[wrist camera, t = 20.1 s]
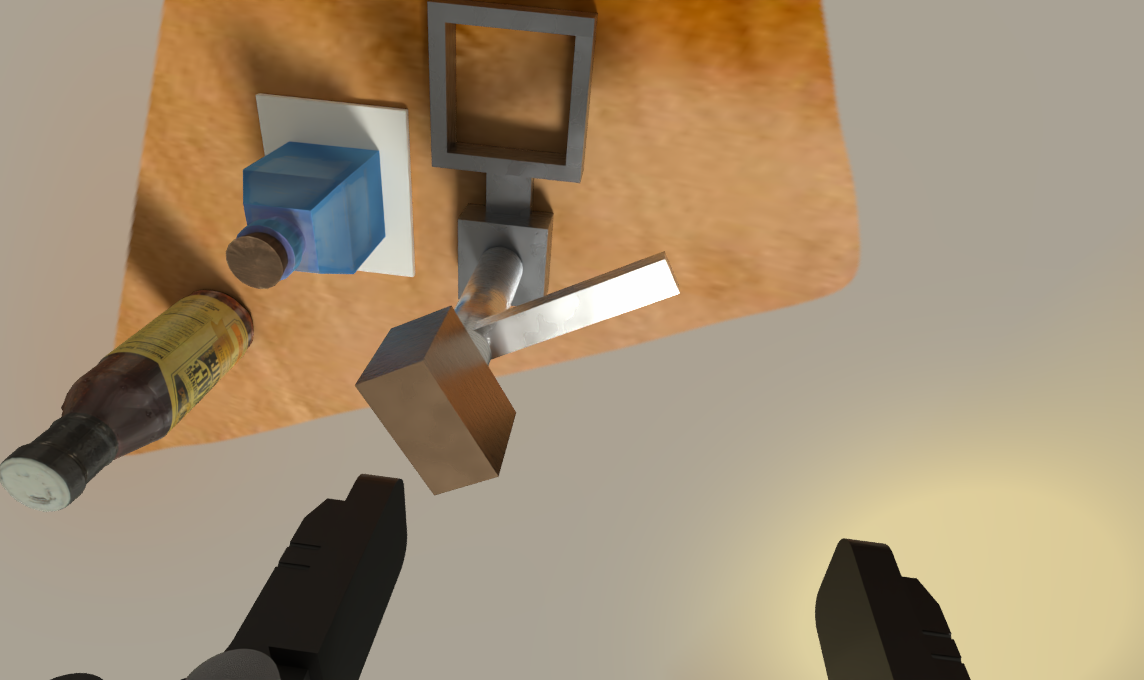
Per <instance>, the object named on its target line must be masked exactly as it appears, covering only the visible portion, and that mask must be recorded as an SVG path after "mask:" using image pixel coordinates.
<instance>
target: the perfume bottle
mask: <svg viewBox="0 0 1144 680" xmlns="http://www.w3.org/2000/svg"><path fill="white" fill-rule="evenodd" d="M243 205H244V210H245V216H246V221H247V226H246V227H245V228H244V229H243V230H242V231H241V232H240V233H239V234H238V235H237V238H236V239H234V240H233V241H232V242H231V243H230V244H229V245H228V248H227V251H226V260H227V263H228V266H229V268H230V270H231V271H232V273H233V274H234V275H235V276H236V277H237V278H238V279H239V280H240V281H241V282H243V283H245V284H246V285H248V286H250V287H254V288H258V289H268V288H270V287H273V286H275V285H276V284H277V283H278V282H279V281H280V280H283V279H285V278H287V277H288V276H289V275H290V274H291V273H292V272H293V271H301V272H310V273H319V274H354V273H355V272H356V271H357V270H358V269H359V267H360V266H361V265H362V264H363V263H364V261H365V260H366V259H367V258H368V257H369V256H370V254H371V253H372V252H373V251H374V250H375V248H376V247H377V246H378V245H379V244H380V243H381V241H382V240H383V239H384V238H385V237H386V234H385V221H384V207H383V194H382V180H381V167H380V153H379V151H378V150H368V149H358V148H349V147H339V146H329V145H320V144H310V143H300V142H291V141H289V142H287V143H286V144H284V145H283V146H281V147H279V148H278V149H276V150H274V151H273V152H271V153H269V154H268V155H266V156H264V157H263V158H261V159H260V160H258V161H256V162H255V163H253V164H251V165H250V166H248V167H246V168H245V169H243Z"/></svg>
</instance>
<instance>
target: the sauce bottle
mask: <svg viewBox="0 0 1144 680" xmlns="http://www.w3.org/2000/svg"><path fill="white" fill-rule="evenodd" d="M253 333H254V330H253V325H252V319H251V316H250V315H249V313H248V312H247V310H246V309H245V308H243V307H242V306H241V305H240V304H239V303H238V302H237V301H236V300H235V299H234V298H232V297H230V296H228V295H226V294H224V293H221V292H216V291H212V290H209V291H208V290H199V291H195V292H193V293H192V294H191V295H189V296H187V297H185V298H183V299H181V300H179V301H178V302H177V303H175V304H174V305H173V306H171V307H170V308H169V309H167V310H166V311H165V312H163V313H162V314H161V315H159V316H158V317H157V318H155V319H154V320H153V321H151V322H150V323H149V324H147V325H146V326H145V327H143V328H142V329H141V330H139V331H138V332H137V333H136V334H134V335H133V336H132V337H130V338H129V339H128V340H126V341H125V342H124V343H122V344H121V345H120V346H118V347H117V348H116V349H114V350H113V351H112V352H110V353H109V354H108V355H106V356H105V357H104V358H103V359H102V360H101V361H100V362H99V364H98V365H97V366H95V367H94V368H92V369H91V370H90V371H89V372H87V373H86V374H85V375H83V376H82V377H80V378H79V379H78V380H77V381H76V382H75V383H74V384H73V385H72V387H71V389H70V390H69V392H68V393H67V396H66V398H65V401H64V403H63V405H62V407H61V408H62V410H63V413H62V417H61V418H59V419H58V420H56V421H54V422H53V423H52V425H51V426H50V428H49V429H48V430H46V431H45V432H44V433H42V434H41V435H40V436H39V437H37V438H36V439H35V440H34V441H32V442H31V443H30V444H26V445H23V446H21V447H19V448H18V449H16V451H14V452H13V453H12V454H11V455H9V456H8V457H7V458H6V459H5V460H4V461H3V462H2V463H1V465H0V482H1V484H2V486H3V487H4V489H5V490H7V491H8V493H9V494H10V495H11V496H12V497H13V498H14V499H15V500H17V501H18V502H20V503H22V504H23V505H26V506H27V507H30V508H33V509H36V510H40V511H56V510H61V509H63V508H65V507H67V506H68V505H69V504H71V503H72V502H73V501H74V500H75V499H76V498H78V496H80V495H81V493H83V491H84V489H85V486H86V484H87V483H88V482H89V481H90V480H91V479H92V478H93V477H95V476H96V474H97V473H99V471H100V470H102V469H103V468H104V467H105V466H107V465H109V464H110V463H111V462H112V461H113V460H115V459H117V458H119V457H121V456H124V455H126V454H128V453H130V452H132V451H135V450H137V449H139V448H141V447H143V446H145V445H148V444H150V443H152V442H154V441H157V440H159V439H161V438H163V437H164V436H165V435H167V434H168V433H169V432H170V431H171V429H172V428H173V427H174V426H175V425H176V424H177V423H178V422H179V421H180V420H181V419H182V418H183V417H184V416H185V415H186V414H187V413H188V412H190V410H191V409H192V408H193V407H194V406H195V405H196V404H197V403H199V401H200V400H201V399H202V398H203V397H204V396H205V395H206V394H207V393H208V392H209V391H210V390H211V389H212V388H213V387H214V386H215V384H216V383H217V382H218V381H219V380H220V379H221V378H222V377H223V376H224V375H225V374H226V373H227V372H228V371H229V370H230V369H231V368H232V367H233V366H234V365H235V364H236V363H237V362H238V361H239V360H240V359H241V358H242V356H243V355H244V354H245V352H246V350H247V349H248V347H249V346H250V344H251V343H252V341H253V335H254V334H253Z"/></svg>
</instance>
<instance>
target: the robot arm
mask: <svg viewBox="0 0 1144 680" xmlns="http://www.w3.org/2000/svg"><path fill="white" fill-rule="evenodd" d="M404 495H405V494H404V483H403V480H402V479H398V478H390V477H383V476H375V475H368V474H361V475H360V476H359V477H358V478H357V480H356V481H355V483H354V485H353V487H352V489H351V491H350V493H349V495H348V497H347V498H346V500H345V501H342V500H334V499H326V500H325V501H324V502H323V503H321V504H320V505H319V506H318V507H317V508H315V509H314V510H313V511H312V512H311V513H309V514H308V515H307V516H306V517H305V518H304V519H303V521H302V522H301V524H300V526H299V528H298V529H297V531H296V533H295V534H294V536H293V538H292V540H291V541H290V546H289V547H287V548H286V550H285V552H284V553H283V555H282V557H281V558H280V560H279V564H278V567H275V569H274V571H273V572H272V574H271V576H270V578H269V579H268V581H267V583H266V584H265V586H264V588H263V589H262V591H261V593H260V595H259V597H258V598H257V600H256V601H255V603H254V605H253V607H252V608H251V610H250V612H249V613H248V615H247V617H246V619H245V620H244V622H243V624H242V625H241V627H240V629H239V631H238V632H237V634H236V636H235V638H234V639H233V641H232V642H231V644H230V645H229V647H228V648H227V649H226V650H225V651H224V652H223V653H220V654H218V655H216V656H214V657H212V658H210V659H208V660H207V661H205V662H203V663H202V664H201V665H199V666H198V667H197V668H196V669H194V670H193V672H191V674H189V676H188V677H187V678H184V679H181V680H359V677H360V674H361V672H362V669H363V667H364V664H365V662H366V659H367V656H368V654H369V651H370V649H371V646H372V644H373V641H374V638H375V636H376V633H377V630H378V628H379V625H380V623H381V620H382V618H383V615H384V612H385V610H386V607H387V605H388V602H389V600H390V597H391V594H392V592H393V589H394V586H395V584H396V581H397V579H398V576H399V574H400V571H401V568H402V565H403V561H404V557H405V552H406V546H407V525H406V511H405V496H404ZM815 620H816V628H817V633H818V637H819V641H820V645H821V650H822V654H823V658H824V662H825V667H826V671H827V676H828V680H971V679H970V677H969V675H968V672H967V670H966V668H965V665H964V664H963V663H961V656H960V653H959V651H958V648H957V646H956V644H955V641H954V640H953V639H951V632H950V629H949V627H948V624H947V622H946V620H945V617H944V615H943V613H942V610H941V608H940V606H939V604H938V603H937V602H936V601H935V599H934V598H933V597H932V596H931V595H930V593H929V592H928V591H927V590H926V589H925V588H924V586H923V585H922V584H921V583H920V582H919V580H918V579H917V578H909V577H902V576H901V574H900V571H899V568H898V566H897V563H896V561H895V558H894V555H893V553H892V551H891V549H890V547H889V546H888V545H886V544H882V543H875V542H867V541H860V540H852V539H841V540H840V541H839V543H838V545H837V547H836V549H835V552H834V554H833V557H832V559H831V562H830V564H829V566H828V569H827V571H826V574H825V577H824V579H823V581H822V584H821V586H820V589H819V591H818V594H817V599H816V607H815ZM51 680H103V679H101V678H100V677H98V676H95V675H92V674H87V673H74V674H68V675H63V676H60V677H56V678H53V679H51Z"/></svg>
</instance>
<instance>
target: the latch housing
mask: <svg viewBox="0 0 1144 680" xmlns="http://www.w3.org/2000/svg"><path fill="white" fill-rule="evenodd" d="M427 3H428V40H429V78H430V115H431V152H432V167H440V168H449V169H458V170H467V171H476V172H485V173H487V176H486V205H477V204H469V203H468V205H467V206H466V208H465V209H464V211H463V212H462V214H461V215H460V217H459V218H458V299H460V297H461V295H462V293H463V291H464V289H465V287H466V285H467V283H468V281H469V279H470V278H471V276H472V274H473V272H474V270H475V268H476V266H477V264H478V262H479V260H480V258H481V256H482V255H483V253H484V252H486V251H487V250H489V249H491V248H494V247H503V248H507V249H509V250H511V251H513V252H514V253H515V254H516V255H517V256H518V257H519V259H520V260H521V263H522V267H523V272H522V276H521V278H520V281H519V284H518V287H517V289H516V292H515V295H514V298H513V300H512V303H511V306H519V305H521V304H524V303H527V302H529V301H532V300H535V299H537V298H540V297H543V296H546V295H547V292H548V285H549V271H550V257H551V242H552V228H553V214H554V213H548V212H539V211H532V204H533V185H534V178H539V179H548V180H557V181H566V182H575V183H580V182H581V178H582V174H583V170H584V159H585V148H586V137H587V126H588V115H589V104H590V93H591V82H592V71H593V60H594V49H595V38H596V27H597V16H598V13H589V12H579V11H569V10H559V9H549V8H539V7H529V6H520V5H510V4H500V3H490V2H480V1H470V0H430V1H428V2H427ZM456 24H465V25H475V26H485V27H495V28H504V29H514V30H524V31H534V32H543V33H553V34H563V35H573V36H576V39H575V52H574V65H573V78H572V91H571V104H570V117H569V130H568V143H567V154H561V153H552V152H543V151H533V150H524V149H515V148H506V147H497V146H488V145H479V144H470V143H460V142H456Z"/></svg>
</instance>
